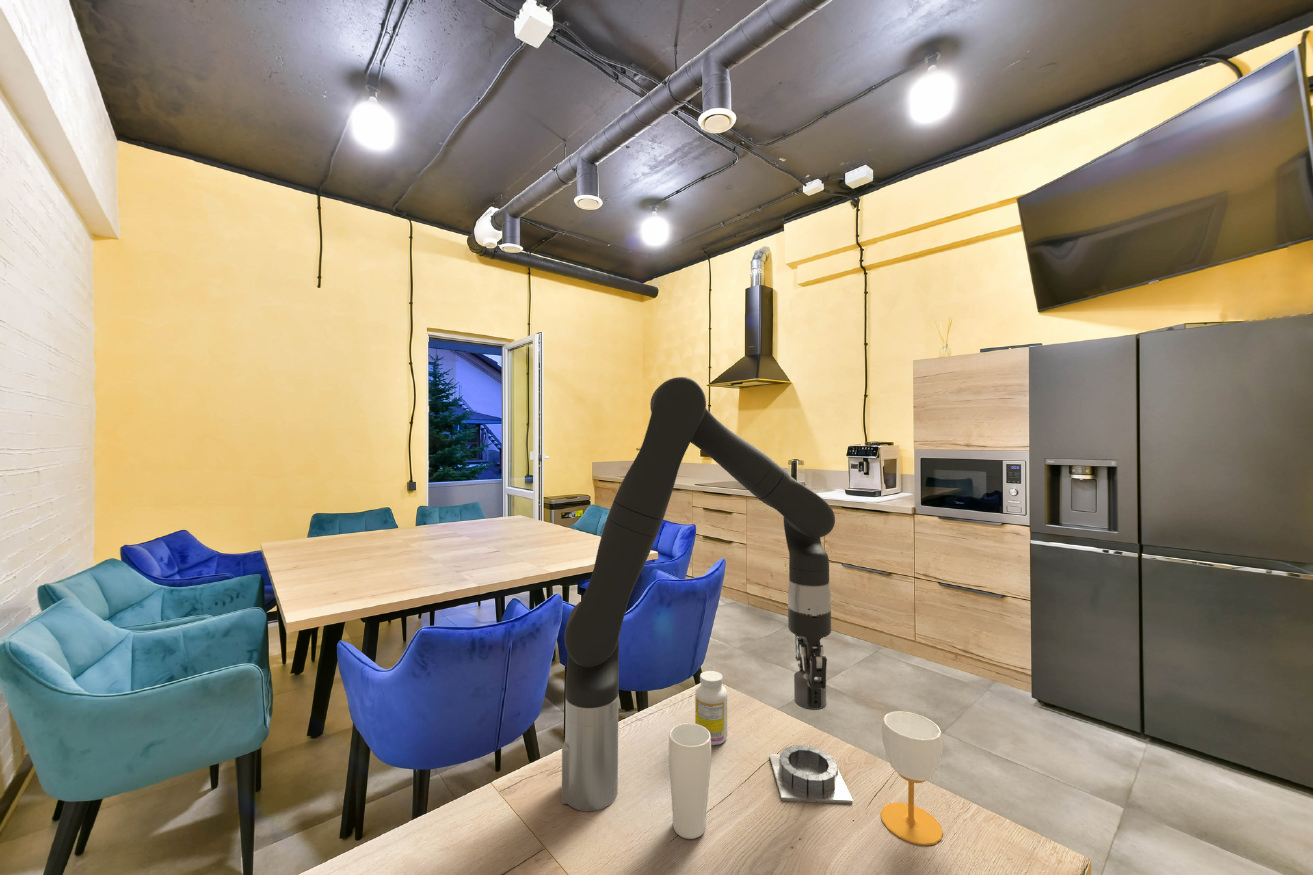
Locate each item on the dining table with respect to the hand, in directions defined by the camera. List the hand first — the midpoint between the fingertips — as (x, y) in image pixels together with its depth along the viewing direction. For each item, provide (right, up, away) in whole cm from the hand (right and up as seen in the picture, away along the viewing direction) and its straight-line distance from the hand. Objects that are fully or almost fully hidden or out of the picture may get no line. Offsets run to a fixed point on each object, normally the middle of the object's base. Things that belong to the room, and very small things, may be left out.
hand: (810, 697), depth 93 cm
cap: (0, -1, 0) cm, 1 cm away
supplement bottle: (-17, -15, +13) cm, 26 cm away
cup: (+13, -15, -10) cm, 23 cm away
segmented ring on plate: (0, -15, 0) cm, 15 cm away
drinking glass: (-23, -15, -12) cm, 30 cm away
